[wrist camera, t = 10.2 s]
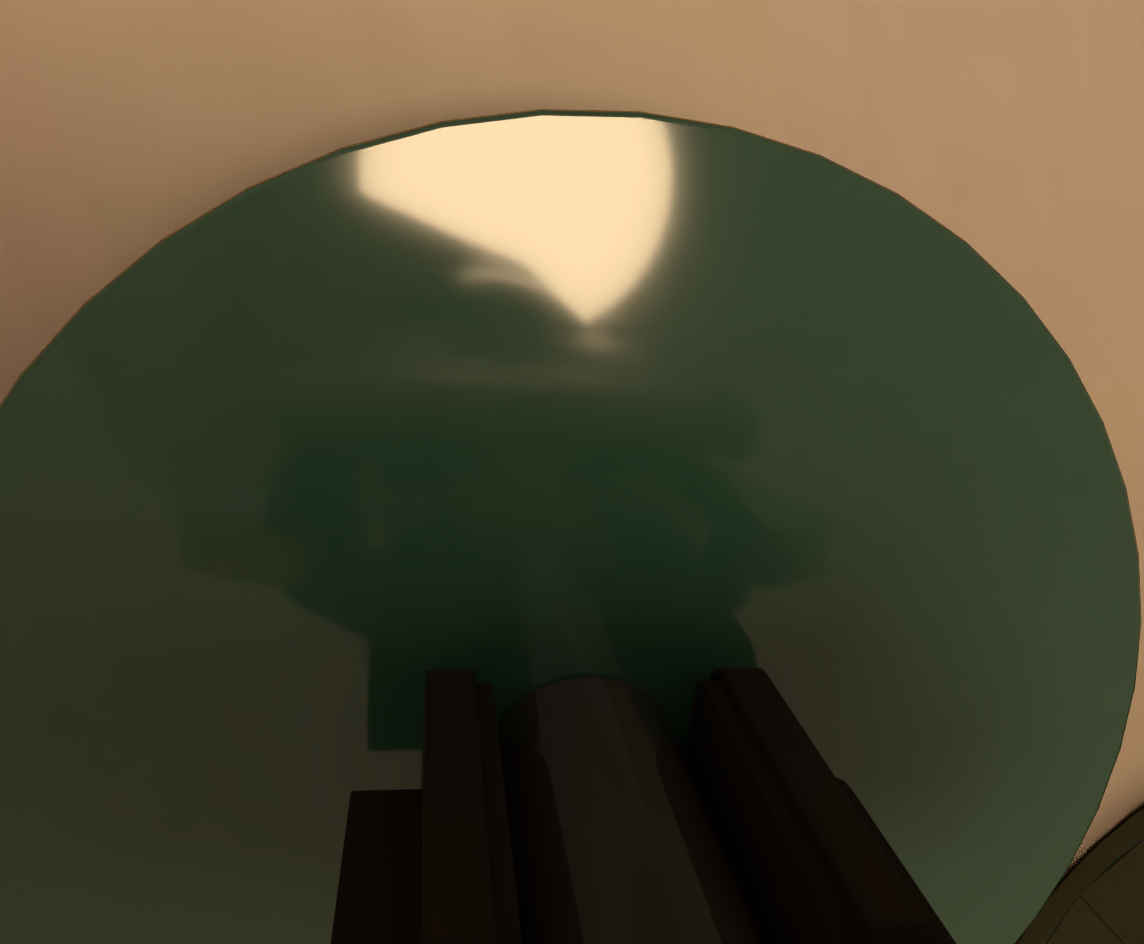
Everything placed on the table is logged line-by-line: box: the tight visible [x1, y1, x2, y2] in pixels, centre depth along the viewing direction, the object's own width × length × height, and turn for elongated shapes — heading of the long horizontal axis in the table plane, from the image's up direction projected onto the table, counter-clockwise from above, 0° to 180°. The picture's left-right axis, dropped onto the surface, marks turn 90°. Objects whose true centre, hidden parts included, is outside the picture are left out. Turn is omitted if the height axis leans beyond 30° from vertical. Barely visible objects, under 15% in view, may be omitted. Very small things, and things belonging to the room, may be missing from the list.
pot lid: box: [0, 109, 1141, 944], centre depth 9 cm, size 15×15×6 cm
